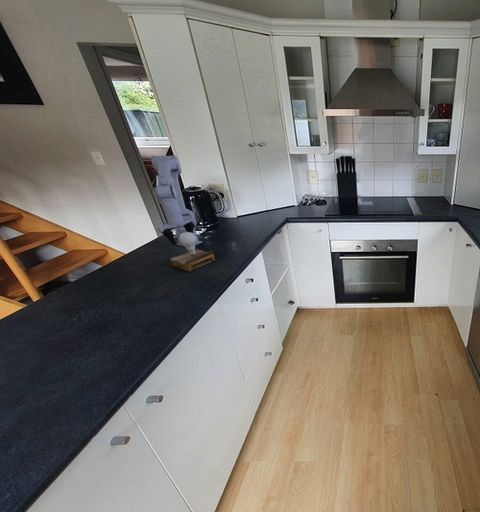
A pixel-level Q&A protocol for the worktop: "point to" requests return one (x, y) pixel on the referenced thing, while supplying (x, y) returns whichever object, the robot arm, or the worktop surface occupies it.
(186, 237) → the lightbulb
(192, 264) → the wooden pallet
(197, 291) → the worktop surface
